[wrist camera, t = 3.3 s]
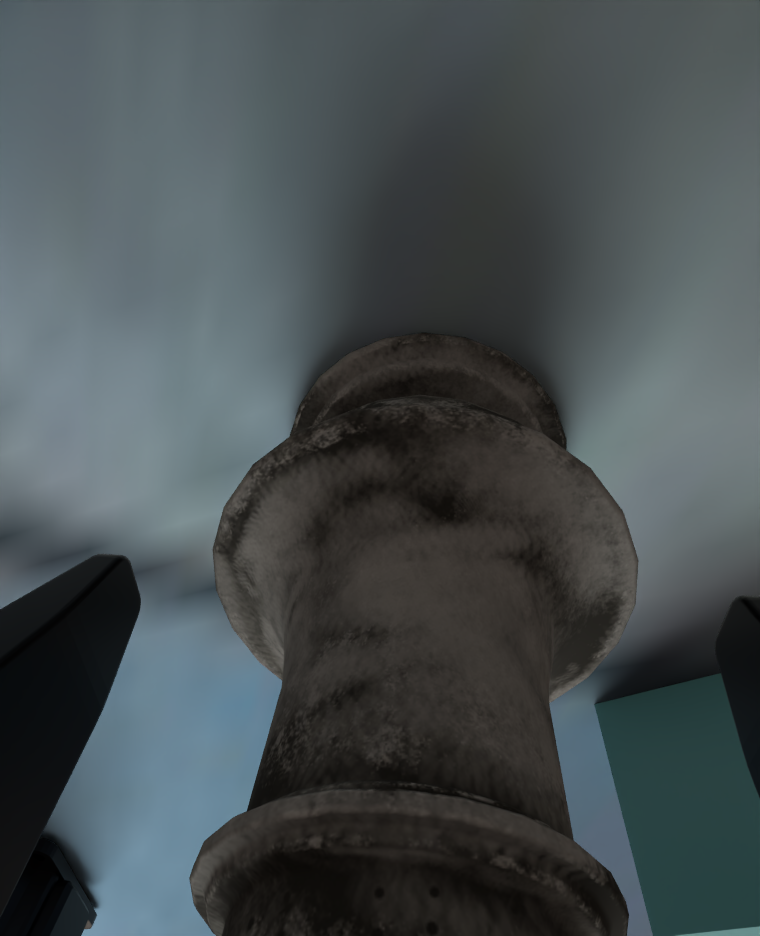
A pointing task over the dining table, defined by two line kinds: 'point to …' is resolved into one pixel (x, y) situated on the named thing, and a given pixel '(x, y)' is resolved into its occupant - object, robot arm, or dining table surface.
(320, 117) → the dining table surface
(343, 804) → the salt shaker
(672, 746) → the teal block
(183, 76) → the dining table surface
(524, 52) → the dining table surface
